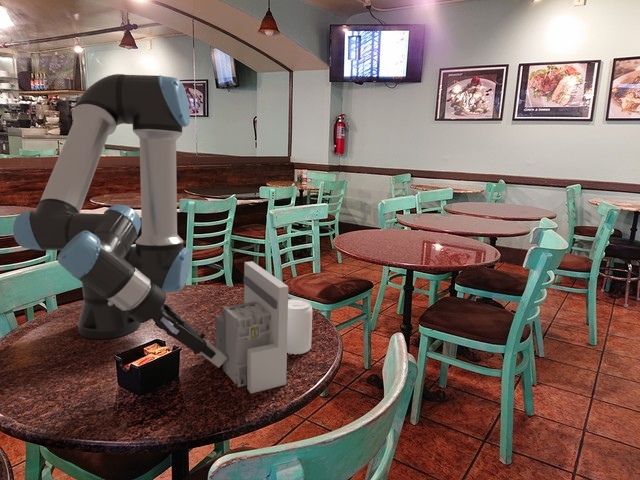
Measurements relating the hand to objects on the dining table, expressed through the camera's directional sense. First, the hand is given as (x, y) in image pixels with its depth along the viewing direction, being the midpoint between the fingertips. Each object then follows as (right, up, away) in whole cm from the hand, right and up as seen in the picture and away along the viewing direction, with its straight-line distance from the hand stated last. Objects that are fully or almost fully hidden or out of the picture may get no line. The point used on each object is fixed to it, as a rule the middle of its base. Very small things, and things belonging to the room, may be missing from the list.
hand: (221, 361), depth 98 cm
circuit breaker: (+3, -3, +4) cm, 6 cm away
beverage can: (+15, -1, +15) cm, 21 cm away
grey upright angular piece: (+6, -3, +5) cm, 8 cm away
